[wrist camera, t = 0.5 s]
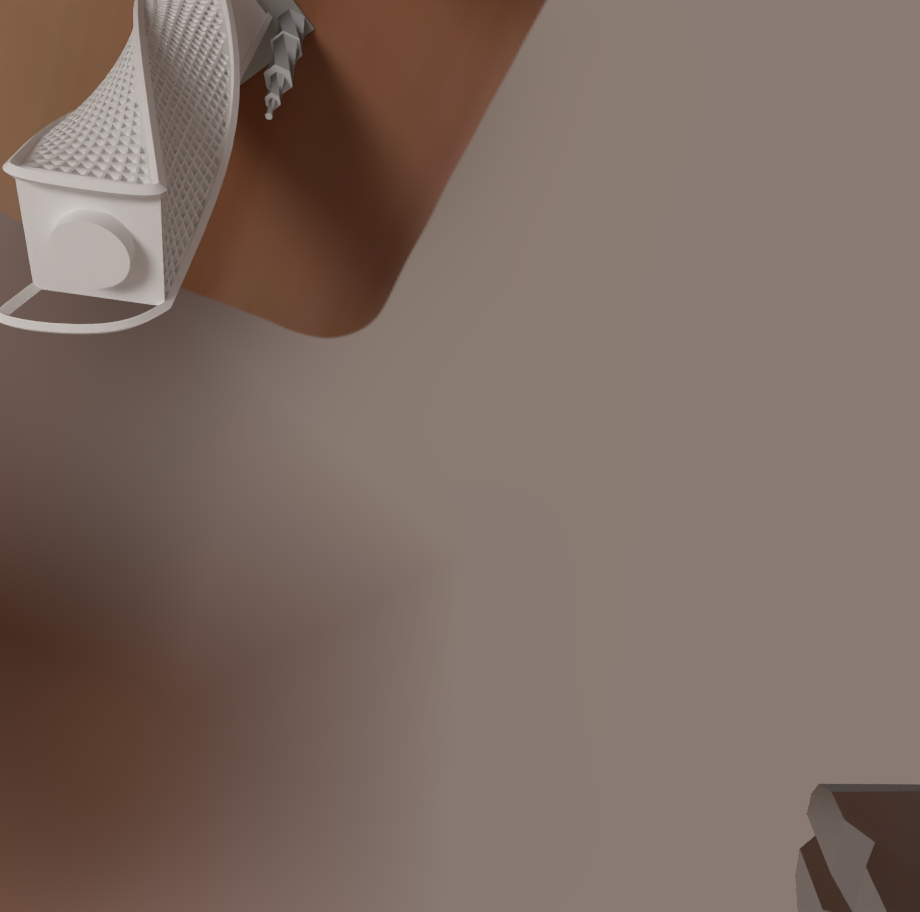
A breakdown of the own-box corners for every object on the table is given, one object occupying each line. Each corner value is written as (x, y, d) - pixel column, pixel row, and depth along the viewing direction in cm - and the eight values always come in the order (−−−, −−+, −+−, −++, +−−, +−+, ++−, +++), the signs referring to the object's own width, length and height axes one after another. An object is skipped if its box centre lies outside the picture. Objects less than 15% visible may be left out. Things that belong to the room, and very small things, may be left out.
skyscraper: (210, 105, 53) (97, 407, 33) (107, -12, 48) (-97, 262, 28) (314, 26, 50) (257, 307, 30) (216, -109, 45) (70, 125, 25)
